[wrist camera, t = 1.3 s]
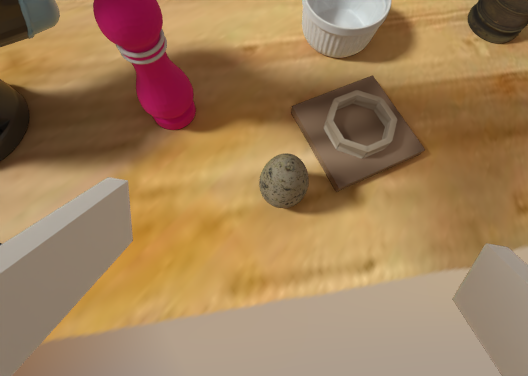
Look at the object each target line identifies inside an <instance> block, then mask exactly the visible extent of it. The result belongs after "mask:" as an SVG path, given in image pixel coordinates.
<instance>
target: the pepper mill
mask: <svg viewBox="0 0 528 376" xmlns="http://www.w3.org/2000/svg"><path fill="white" fill-rule="evenodd" d="M93 8H94V16H95V19H96V22H97V24H98V26H99V28H100V29H101V31H102V33H103V34H104V35H105V36H106V37H107V38H108V39H109V40H110V41H112V42H113V43H115V44H116V46H117V48H118V50H119V51H120V53H121V55H122V56H123V57H124V58H125V59H126V60H127V61H129V62H131V63H132V64H133V66H134V68H135V70H136V91H137V96H138V99H139V101H140V103H141V105H142V107H143V108H144V110H145V111H146V112H147V113H149V114H150V115H152V116H153V118H154V119H155V121H156V122H157V124H158V125H160V126H161V127H163V128H165V129H169V130H176V129H181V128H183V127H185V126H187V125H188V124H189V123H190V122H191V121H192V120H193V118H194V116H195V112H196V108H195V105H194V102H193V88H192V85H191V83H190V81H189V79H188V77H187V76H186V75H185V74H184V72H183V71H182V70H181V69H180V68H178V67H177V66H176V65H175V64H174V63H173V62H172V61H171V60H170V59H169V58H168V56H167V54H166V52H165V51H166V48H167V40H166V38H165V36H164V32H163V30H162V24H163V20H162V13H161V9H160V7H159V5H158V3H157V1H156V0H94V3H93Z"/></svg>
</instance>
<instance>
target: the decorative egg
mask: <svg viewBox="0 0 528 376" xmlns="http://www.w3.org/2000/svg"><path fill="white" fill-rule="evenodd" d="M259 185H260V191H261V194H262V196H263V197H264V199H265V200H266V201H267V202H268V203H269V204H271V205H272V206H275V207H278V208H289V207H292V206H294V205H296V204H297V203H299V202H300V201H301V200H302V198H303V197H304V195H305V194H306V191H307V188H308V173H307V169H306V167H305V165H304V163H303V162H302V161H301V160H300V159H299V158H298V157H297V156H295V155H292V154H280V155H278V156H276V157H274V158H272V159H271V160H270V161H269V162H268V163H267V164H266V166H265V167H264V169H263V171H262V173H261V176H260V182H259Z"/></svg>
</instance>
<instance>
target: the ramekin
mask: <svg viewBox="0 0 528 376" xmlns="http://www.w3.org/2000/svg"><path fill="white" fill-rule="evenodd" d="M302 4H303V15H302V28H303V33H304V36H305V38H306V40H307V42H308V43H309V44H310V45H311V46H312V47H313V48H314V49H315V50H316V51H318V52H319V53H321V54H323V55H326V56H329V57H335V58H343V57H348V56H351V55H354V54H356V53H358V52H360V51H361V50H363V49H364V48H365V47H366V46H367V44H368V43H369V42H370V40H371V39H372V37H373V36H374V34H375V33H376V31H377V30H378V28H379V26H380V25H381V24H382V23H383V22H384V21H385V19H386V17H387V15H388V13H389V10H390V7H391V0H302Z"/></svg>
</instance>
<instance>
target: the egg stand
mask: <svg viewBox="0 0 528 376" xmlns="http://www.w3.org/2000/svg"><path fill="white" fill-rule="evenodd" d="M291 113H292V115H293V117H294V119H295V120H296V122H297V124H298V126H299V127H300V129H301V131H302V133H303V134H304V136H305V138H306V140H307V141H308V143H309V145H310V147H311V149H312V150H313V152H314V154H315V156H316V157H317V159H318V161H319V163H320V164H321V166H322V168H323V170H324V171H325V173H326V175H327V177H328V179H329V180H330V182H331V184H332V186H333V187H334V189H335V191H336V192H337V191H339V190H342V189H344V188H346V187H348V186H350V185H353V184H355V183H357V182H359V181H362V180H364V179H366V178H368V177H370V176H373V175H375V174H377V173H379V172H382V171H384V170H386V169H388V168H391V167H393V166H395V165H397V164H399V163H402V162H404V161H406V160H408V159H411V158H413V157H415V156H417V155H419V154H421V153H422V152H423V151H425V149H424V147H423V146H422V144H421V143H420V142H419V140H418V139H417V137H416V136H415V135H414V133H413V132H412V130H411V129H410V127H409V126H408V125H407V123H406V122H405V120H404V119H403V118H402V116H401V115H400V113H399V112H398V111H397V109H396V108H395V106H394V105H393V103H392V102H391V101H390V99H389V98H388V96H387V95H386V94H385V92H384V91H383V89H382V88H381V87H380V85H379V84H378V82H377V81H376V79H375V78H374V77H373V76H370V77H367V78H365V79H362V80H360V81H357V82H354V83H352V84H349V85H346V86H344V87H341V88H339V89H336V90H333V91H331V92H328V93H325V94H323V95H320V96H317V97H315V98H312V99H310V100H307V101H304V102H302V103H299V104H296V105H294V106H292V109H291Z"/></svg>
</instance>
